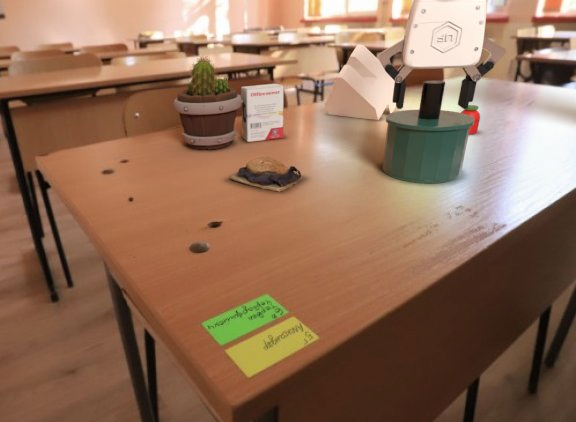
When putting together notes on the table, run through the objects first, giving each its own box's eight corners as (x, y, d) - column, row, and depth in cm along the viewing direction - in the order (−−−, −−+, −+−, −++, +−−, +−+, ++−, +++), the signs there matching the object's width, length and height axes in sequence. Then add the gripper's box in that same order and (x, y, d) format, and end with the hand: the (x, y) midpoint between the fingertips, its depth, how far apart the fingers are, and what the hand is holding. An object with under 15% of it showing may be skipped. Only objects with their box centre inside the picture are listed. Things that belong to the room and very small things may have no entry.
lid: (461, 116, 71) (469, 75, 68) (483, 135, 60) (494, 87, 57) (381, 116, 75) (386, 77, 72) (388, 134, 64) (394, 89, 61)
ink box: (276, 133, 99) (277, 82, 94) (283, 138, 95) (284, 85, 90) (241, 137, 98) (240, 85, 93) (247, 142, 94) (246, 88, 89)
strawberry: (474, 129, 91) (479, 104, 89) (479, 134, 88) (485, 108, 86) (453, 129, 92) (458, 104, 90) (457, 134, 89) (462, 108, 87)
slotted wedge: (333, 124, 117) (314, 76, 105) (351, 95, 120) (334, 44, 107) (381, 131, 108) (366, 78, 95) (400, 99, 110) (388, 44, 98)
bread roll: (226, 181, 73) (225, 161, 71) (255, 167, 78) (255, 148, 76) (279, 194, 66) (279, 171, 64) (306, 178, 71) (307, 157, 70)
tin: (450, 161, 74) (459, 113, 70) (467, 185, 64) (479, 130, 60) (380, 159, 77) (385, 113, 74) (385, 181, 67) (392, 129, 64)
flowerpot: (187, 135, 103) (180, 49, 95) (248, 136, 99) (247, 45, 91) (167, 153, 90) (157, 55, 82) (236, 154, 86) (233, 51, 78)
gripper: (386, -13, 58) (372, 112, 65) (533, -25, 53) (501, 111, 60) (381, -11, 65) (370, 103, 72) (512, -21, 60) (486, 102, 67)
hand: (430, 106), depth 66 cm, fingers open, 8 cm apart
